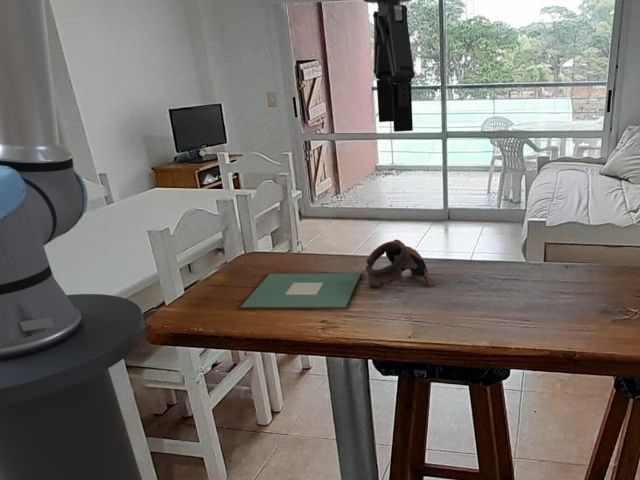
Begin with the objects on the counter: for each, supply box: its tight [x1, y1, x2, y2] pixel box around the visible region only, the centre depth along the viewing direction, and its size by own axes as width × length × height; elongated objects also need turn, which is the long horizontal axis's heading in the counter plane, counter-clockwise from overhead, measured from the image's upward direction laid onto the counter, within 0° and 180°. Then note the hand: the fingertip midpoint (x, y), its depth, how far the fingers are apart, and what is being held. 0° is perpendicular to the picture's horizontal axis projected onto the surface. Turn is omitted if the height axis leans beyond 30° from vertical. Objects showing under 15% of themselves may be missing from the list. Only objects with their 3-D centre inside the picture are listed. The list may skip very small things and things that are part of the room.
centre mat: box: [240, 272, 362, 310], centre depth 92 cm, size 16×14×1 cm
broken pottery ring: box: [365, 239, 431, 288], centre depth 93 cm, size 12×10×8 cm
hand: (394, 126), depth 90 cm, fingers open, 13 cm apart
